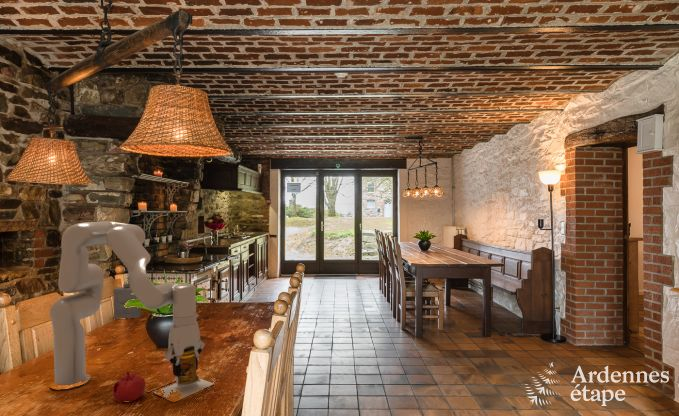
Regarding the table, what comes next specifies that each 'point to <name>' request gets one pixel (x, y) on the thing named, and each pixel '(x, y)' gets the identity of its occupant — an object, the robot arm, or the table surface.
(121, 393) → the pomegranate
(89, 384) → the table surface
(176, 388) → the mat
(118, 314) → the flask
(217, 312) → the table surface
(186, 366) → the condiment
